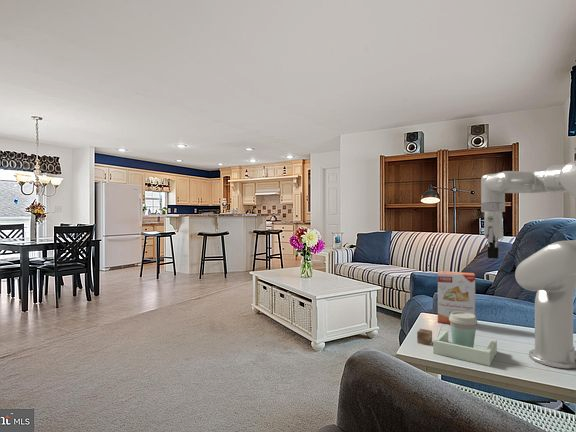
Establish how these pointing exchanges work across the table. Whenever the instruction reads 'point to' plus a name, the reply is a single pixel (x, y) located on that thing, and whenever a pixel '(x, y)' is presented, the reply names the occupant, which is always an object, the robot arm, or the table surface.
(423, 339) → the walnut block
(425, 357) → the table surface
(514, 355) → the table surface
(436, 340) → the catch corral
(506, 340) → the table surface
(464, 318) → the coffee cup
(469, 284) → the cracker box
